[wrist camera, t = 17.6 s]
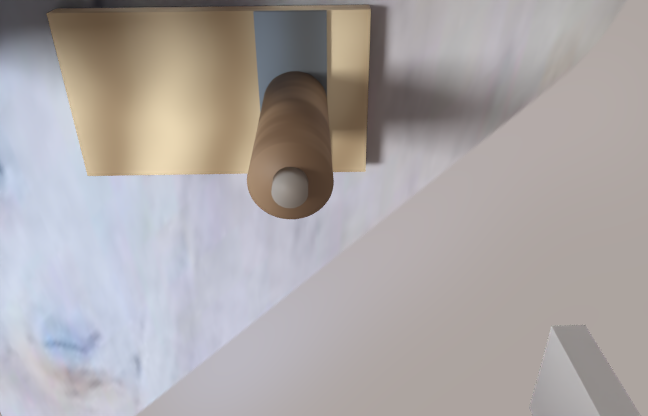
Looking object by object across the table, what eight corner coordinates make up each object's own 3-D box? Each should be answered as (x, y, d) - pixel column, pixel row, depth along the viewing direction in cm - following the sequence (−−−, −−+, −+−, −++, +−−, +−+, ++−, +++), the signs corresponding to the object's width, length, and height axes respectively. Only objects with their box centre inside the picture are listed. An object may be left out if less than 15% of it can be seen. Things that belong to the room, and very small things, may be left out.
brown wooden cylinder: (266, 133, 30) (249, 231, 22) (260, 72, 29) (240, 153, 20) (328, 131, 30) (335, 228, 22) (326, 70, 29) (333, 150, 20)
